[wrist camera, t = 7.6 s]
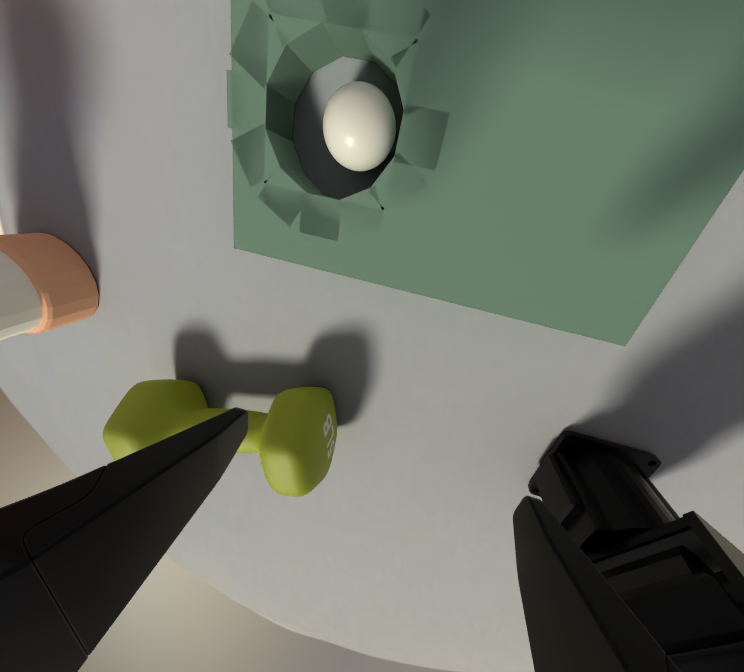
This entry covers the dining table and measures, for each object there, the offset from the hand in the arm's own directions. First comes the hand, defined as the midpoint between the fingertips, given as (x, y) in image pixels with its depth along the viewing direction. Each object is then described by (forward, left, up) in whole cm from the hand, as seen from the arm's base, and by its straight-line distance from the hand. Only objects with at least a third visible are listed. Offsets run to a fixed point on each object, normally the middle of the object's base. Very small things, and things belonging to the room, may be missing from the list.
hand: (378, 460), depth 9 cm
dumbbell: (+11, +11, -12) cm, 20 cm away
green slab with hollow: (0, -10, -12) cm, 16 cm away
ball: (+5, -10, -10) cm, 15 cm away
